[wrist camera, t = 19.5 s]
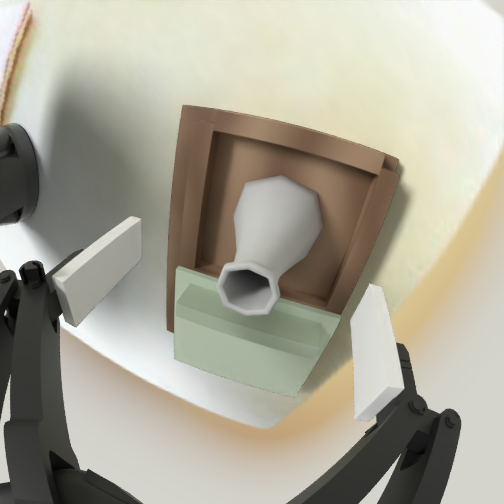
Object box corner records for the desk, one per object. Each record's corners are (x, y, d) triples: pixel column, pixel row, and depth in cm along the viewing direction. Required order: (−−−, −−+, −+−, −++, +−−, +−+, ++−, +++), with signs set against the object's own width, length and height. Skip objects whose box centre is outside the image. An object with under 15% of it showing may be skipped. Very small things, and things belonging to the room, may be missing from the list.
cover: (176, 355, 32) (163, 377, 28) (179, 265, 25) (159, 287, 22) (294, 393, 30) (290, 418, 27) (340, 315, 23) (341, 344, 20)
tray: (170, 324, 33) (161, 338, 31) (188, 105, 20) (173, 105, 18) (303, 368, 31) (300, 384, 29) (395, 157, 18) (404, 162, 16)
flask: (316, 265, 23) (307, 354, 15) (233, 251, 24) (185, 328, 16) (330, 181, 20) (336, 236, 11) (235, 169, 21) (173, 213, 12)
